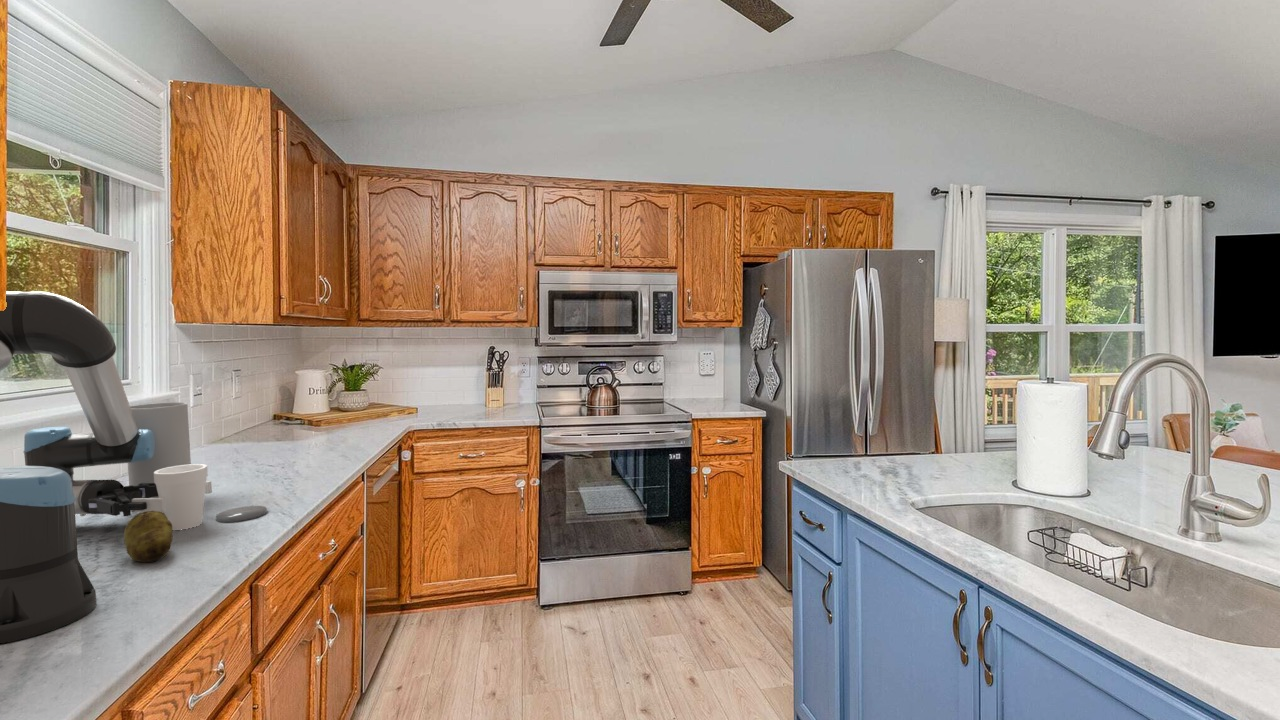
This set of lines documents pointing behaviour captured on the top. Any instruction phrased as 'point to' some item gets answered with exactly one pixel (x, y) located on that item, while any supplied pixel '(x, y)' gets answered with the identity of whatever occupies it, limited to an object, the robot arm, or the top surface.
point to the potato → (148, 536)
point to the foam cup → (182, 493)
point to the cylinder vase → (161, 439)
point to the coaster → (241, 513)
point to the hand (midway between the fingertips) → (188, 495)
